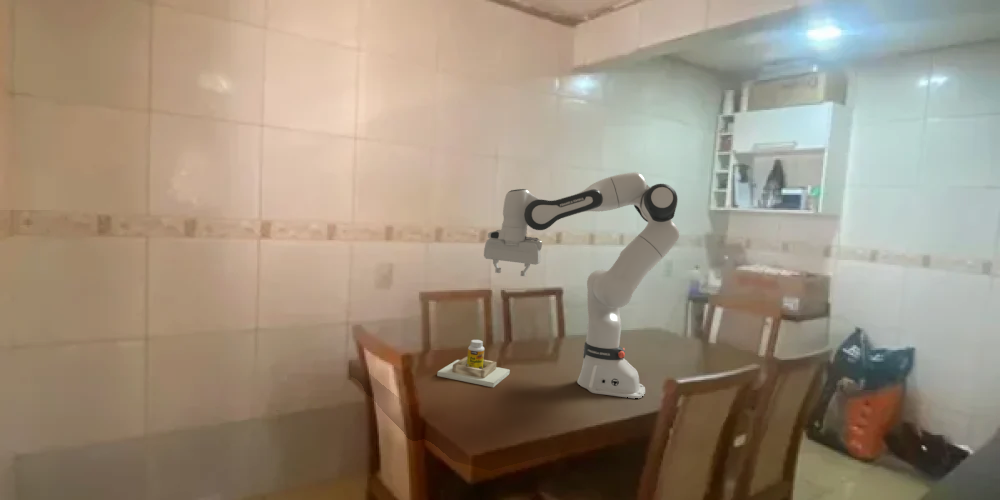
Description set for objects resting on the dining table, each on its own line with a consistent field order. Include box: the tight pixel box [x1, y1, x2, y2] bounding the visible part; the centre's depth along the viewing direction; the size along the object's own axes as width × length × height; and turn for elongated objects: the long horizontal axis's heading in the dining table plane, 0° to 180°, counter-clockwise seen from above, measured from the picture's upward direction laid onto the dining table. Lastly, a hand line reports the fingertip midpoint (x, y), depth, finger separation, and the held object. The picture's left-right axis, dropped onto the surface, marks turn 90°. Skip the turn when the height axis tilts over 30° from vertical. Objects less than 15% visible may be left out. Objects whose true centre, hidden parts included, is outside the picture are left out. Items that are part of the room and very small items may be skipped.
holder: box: [436, 355, 511, 388], centre depth 182 cm, size 20×16×4 cm
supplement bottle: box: [467, 339, 485, 369], centre depth 182 cm, size 6×6×10 cm
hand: (510, 274), depth 188 cm, fingers open, 8 cm apart
